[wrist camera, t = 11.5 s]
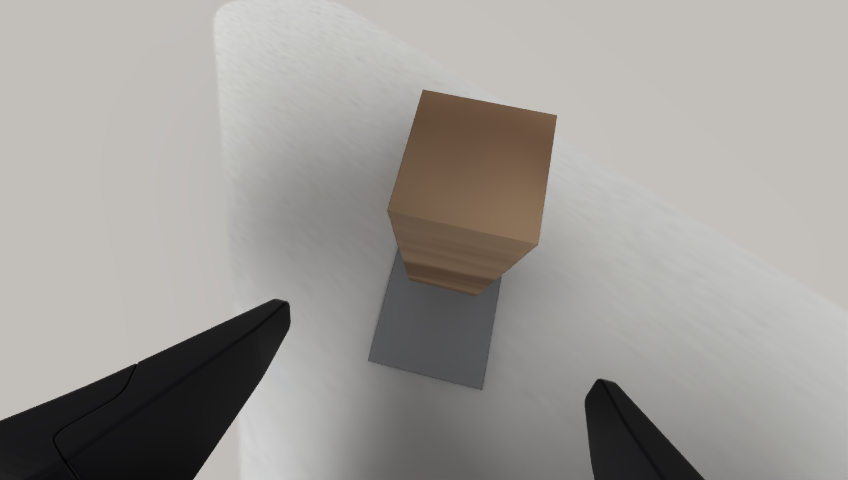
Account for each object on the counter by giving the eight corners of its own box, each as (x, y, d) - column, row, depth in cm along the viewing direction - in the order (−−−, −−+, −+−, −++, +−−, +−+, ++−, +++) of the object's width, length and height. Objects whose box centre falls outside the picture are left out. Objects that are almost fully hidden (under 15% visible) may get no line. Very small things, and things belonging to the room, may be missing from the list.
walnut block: (476, 296, 21) (537, 244, 9) (409, 280, 21) (387, 210, 9) (488, 232, 22) (556, 115, 10) (425, 218, 22) (423, 89, 11)
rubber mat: (480, 388, 20) (482, 390, 19) (369, 360, 20) (367, 360, 20) (509, 222, 23) (511, 219, 22) (412, 201, 23) (411, 197, 23)
